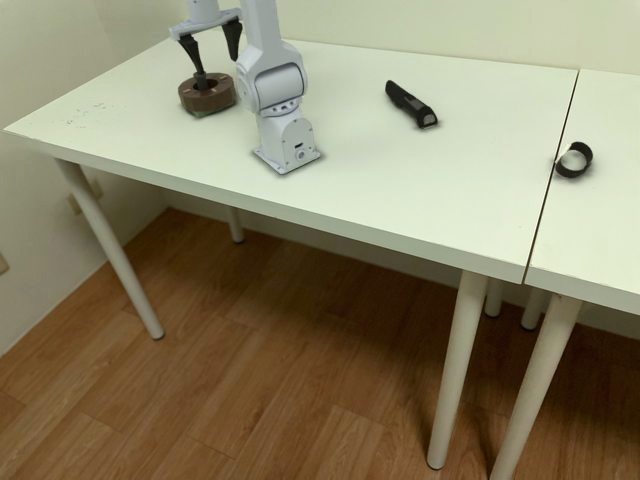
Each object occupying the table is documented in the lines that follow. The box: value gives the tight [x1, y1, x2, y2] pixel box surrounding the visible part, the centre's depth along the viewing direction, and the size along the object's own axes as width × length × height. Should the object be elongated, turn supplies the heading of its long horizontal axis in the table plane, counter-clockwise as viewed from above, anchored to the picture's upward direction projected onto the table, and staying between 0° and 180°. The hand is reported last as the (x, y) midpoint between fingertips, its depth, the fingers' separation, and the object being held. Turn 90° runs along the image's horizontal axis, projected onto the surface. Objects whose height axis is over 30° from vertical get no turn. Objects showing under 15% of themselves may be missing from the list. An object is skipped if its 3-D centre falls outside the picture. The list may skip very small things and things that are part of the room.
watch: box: [554, 141, 594, 179], centre depth 69 cm, size 8×5×4 cm, turn 140°
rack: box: [190, 70, 234, 119], centre depth 95 cm, size 8×8×7 cm
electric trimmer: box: [384, 79, 439, 130], centre depth 87 cm, size 4×16×3 cm, turn 21°
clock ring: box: [177, 72, 237, 112], centre depth 95 cm, size 11×11×3 cm
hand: (218, 66), depth 94 cm, fingers open, 7 cm apart
